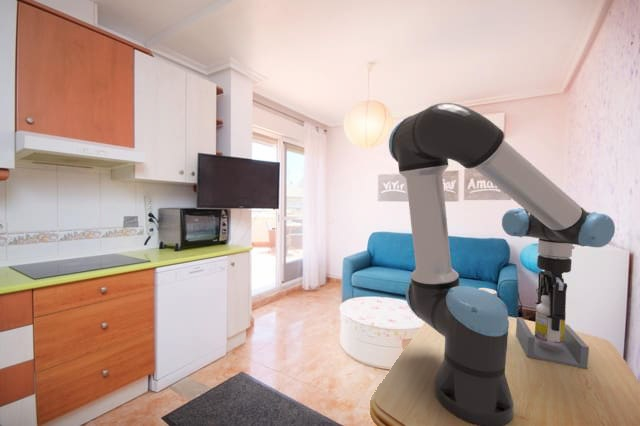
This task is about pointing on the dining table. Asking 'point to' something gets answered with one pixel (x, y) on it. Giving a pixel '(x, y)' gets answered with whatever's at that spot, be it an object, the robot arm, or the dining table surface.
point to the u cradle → (554, 347)
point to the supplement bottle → (546, 323)
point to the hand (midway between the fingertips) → (548, 334)
